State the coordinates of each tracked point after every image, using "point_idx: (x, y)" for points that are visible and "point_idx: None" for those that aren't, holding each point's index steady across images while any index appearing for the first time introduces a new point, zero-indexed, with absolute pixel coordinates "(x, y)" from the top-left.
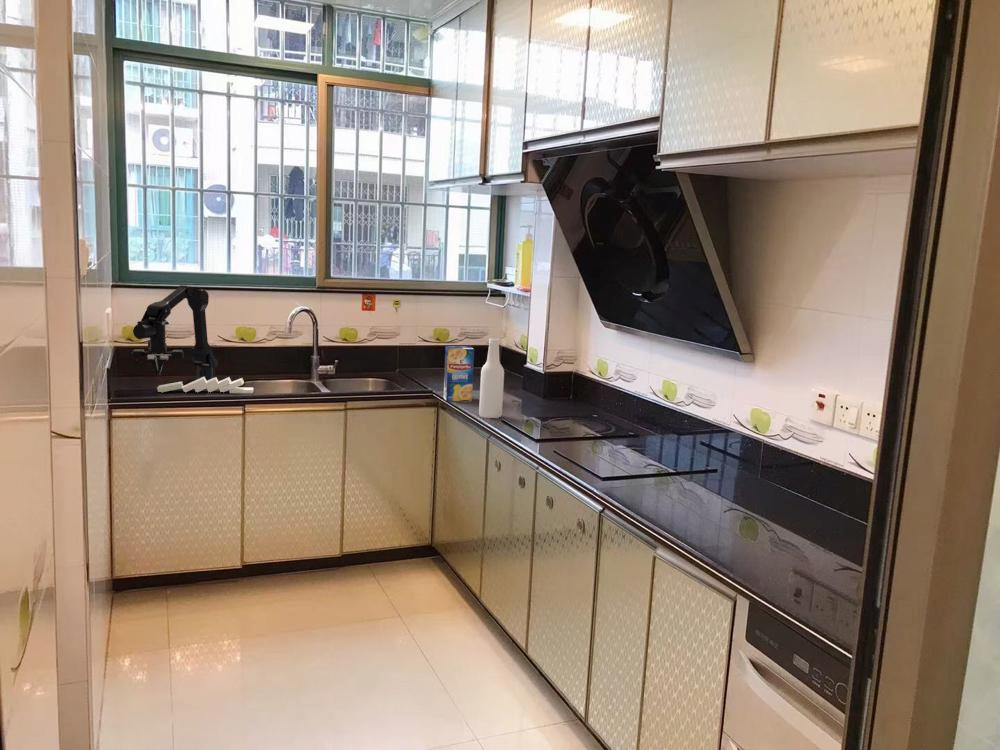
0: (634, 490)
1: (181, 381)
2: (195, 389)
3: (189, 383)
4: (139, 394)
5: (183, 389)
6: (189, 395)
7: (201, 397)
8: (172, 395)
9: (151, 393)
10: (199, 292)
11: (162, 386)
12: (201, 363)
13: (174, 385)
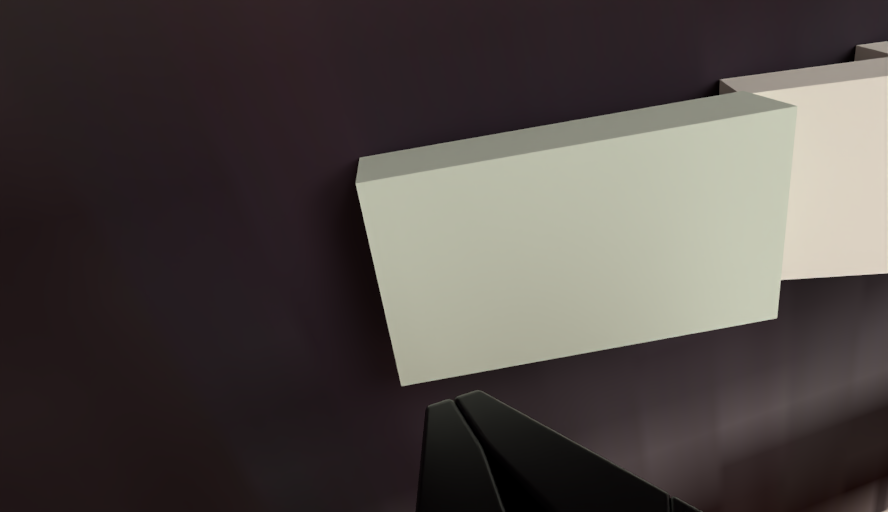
0: None
1: (786, 122)
2: None
3: (870, 116)
4: (183, 506)
5: None
6: (764, 369)
7: (859, 418)
8: (601, 425)
9: (320, 400)
10: None
11: (471, 321)
12: None
13: (667, 329)
